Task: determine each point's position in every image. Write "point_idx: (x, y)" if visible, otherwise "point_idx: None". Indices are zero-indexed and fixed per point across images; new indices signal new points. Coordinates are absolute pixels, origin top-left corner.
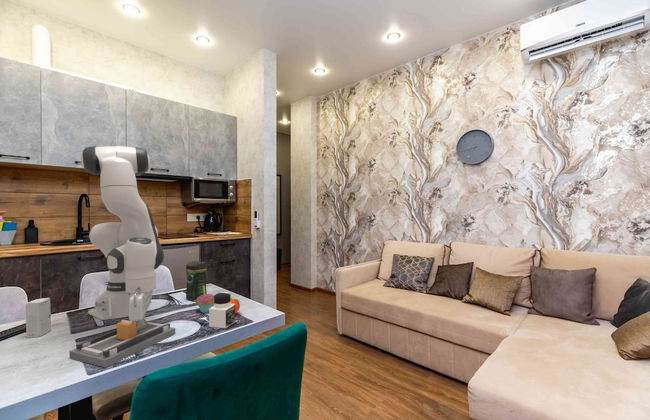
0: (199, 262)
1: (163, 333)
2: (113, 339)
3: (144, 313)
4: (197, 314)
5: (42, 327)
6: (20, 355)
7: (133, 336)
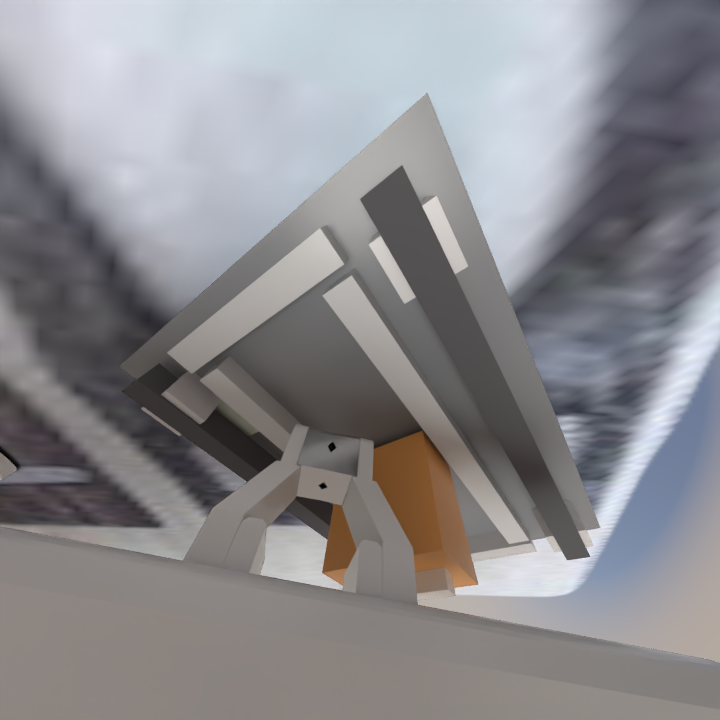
0: None
1: (490, 261)
2: None
3: (593, 692)
4: None
5: None
6: (289, 580)
7: (433, 453)
